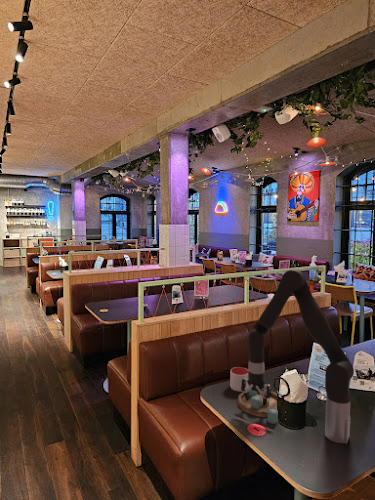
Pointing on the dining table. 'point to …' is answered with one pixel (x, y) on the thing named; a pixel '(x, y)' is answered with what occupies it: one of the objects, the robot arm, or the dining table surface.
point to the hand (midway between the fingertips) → (255, 402)
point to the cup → (238, 378)
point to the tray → (271, 400)
